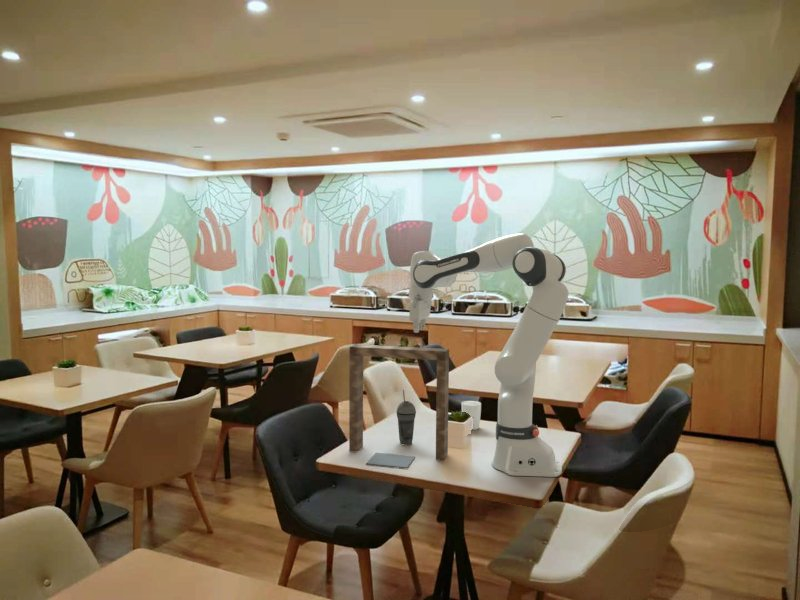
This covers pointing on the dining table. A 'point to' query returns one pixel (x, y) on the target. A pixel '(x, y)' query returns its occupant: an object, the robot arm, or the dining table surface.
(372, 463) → the slate mat
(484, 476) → the dining table surface
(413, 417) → the beverage cup
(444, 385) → the walnut archway
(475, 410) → the white cup
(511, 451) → the robot arm
